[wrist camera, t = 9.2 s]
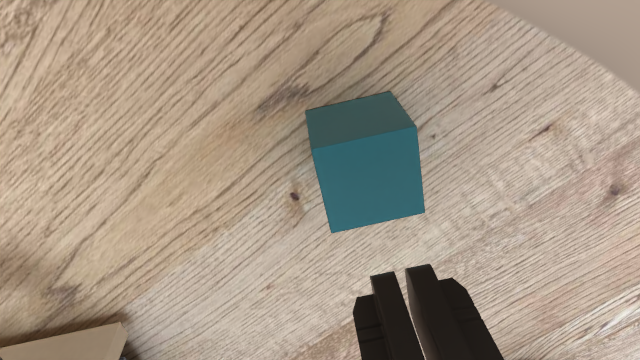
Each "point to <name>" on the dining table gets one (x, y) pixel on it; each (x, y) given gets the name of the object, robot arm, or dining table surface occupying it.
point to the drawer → (73, 346)
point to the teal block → (366, 161)
